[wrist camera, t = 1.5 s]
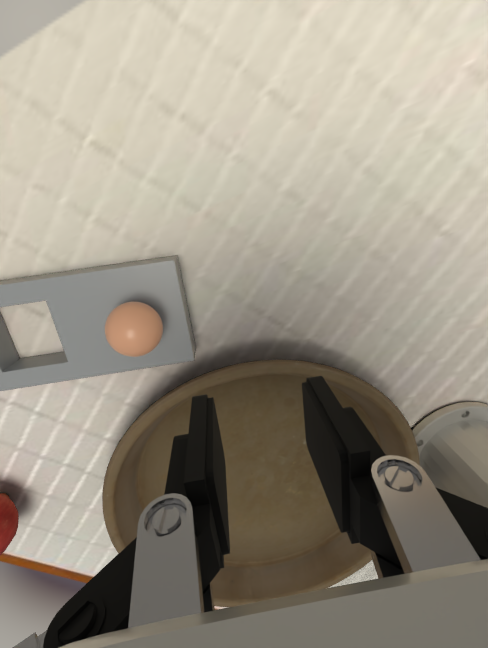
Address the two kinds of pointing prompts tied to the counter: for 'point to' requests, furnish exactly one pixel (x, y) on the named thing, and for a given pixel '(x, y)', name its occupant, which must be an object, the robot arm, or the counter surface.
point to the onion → (7, 521)
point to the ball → (133, 329)
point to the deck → (96, 320)
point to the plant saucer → (256, 475)
